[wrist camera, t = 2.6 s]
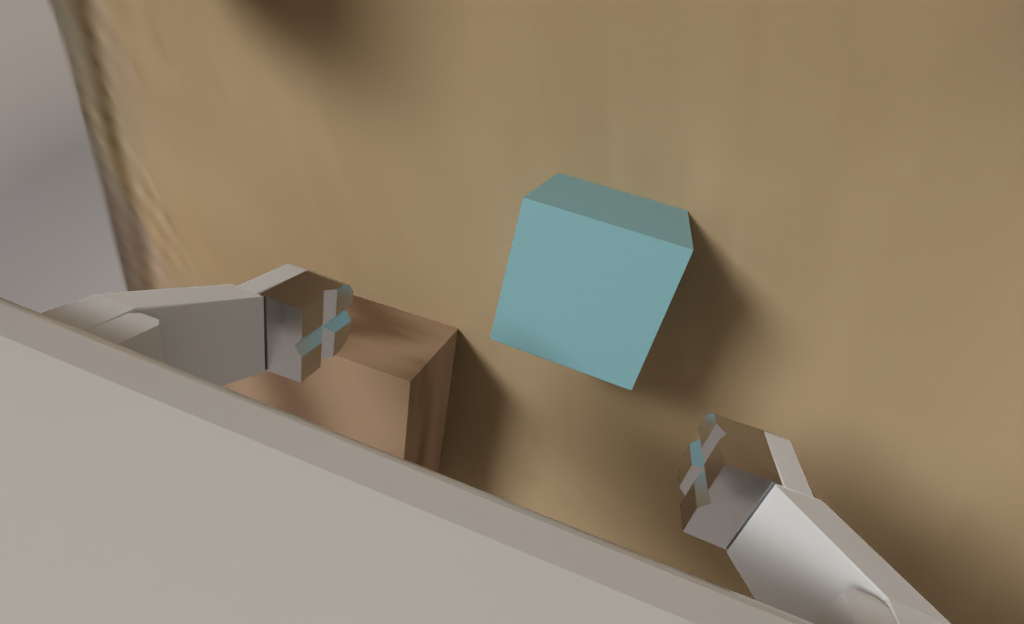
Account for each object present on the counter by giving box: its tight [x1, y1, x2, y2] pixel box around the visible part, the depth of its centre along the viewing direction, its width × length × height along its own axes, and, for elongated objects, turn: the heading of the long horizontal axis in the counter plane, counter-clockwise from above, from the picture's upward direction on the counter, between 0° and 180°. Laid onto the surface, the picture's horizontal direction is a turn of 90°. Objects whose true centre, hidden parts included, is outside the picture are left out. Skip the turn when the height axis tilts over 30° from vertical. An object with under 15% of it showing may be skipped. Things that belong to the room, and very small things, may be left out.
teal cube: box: [490, 173, 694, 390], centre depth 16 cm, size 5×5×5 cm
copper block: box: [222, 295, 458, 473], centre depth 23 cm, size 10×10×5 cm
